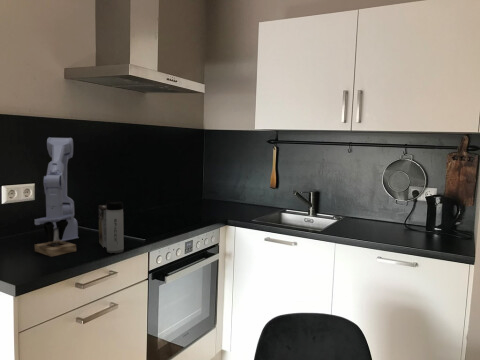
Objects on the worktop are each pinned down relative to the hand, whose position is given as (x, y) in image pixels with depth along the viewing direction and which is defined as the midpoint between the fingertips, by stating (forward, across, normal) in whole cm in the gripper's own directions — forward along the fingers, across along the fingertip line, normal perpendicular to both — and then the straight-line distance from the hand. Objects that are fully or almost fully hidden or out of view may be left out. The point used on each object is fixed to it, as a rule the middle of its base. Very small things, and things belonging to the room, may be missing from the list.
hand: (55, 240), depth 154 cm
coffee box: (+4, +19, -7) cm, 21 cm away
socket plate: (+4, 0, 0) cm, 4 cm away
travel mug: (+4, +14, -18) cm, 23 cm away
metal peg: (+3, 0, 0) cm, 3 cm away
